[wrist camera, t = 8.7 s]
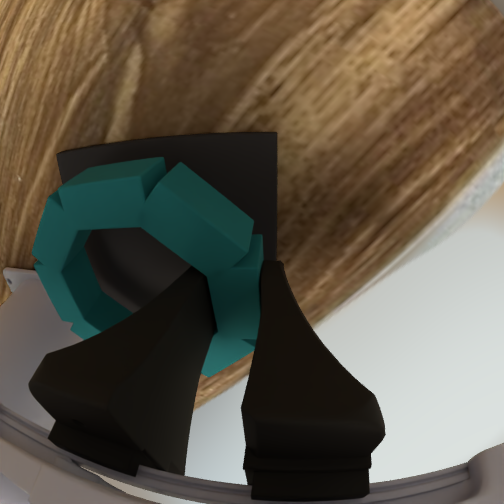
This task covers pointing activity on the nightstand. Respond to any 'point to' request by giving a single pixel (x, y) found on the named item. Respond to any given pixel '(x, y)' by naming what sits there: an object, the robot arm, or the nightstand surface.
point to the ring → (164, 230)
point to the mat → (174, 151)
